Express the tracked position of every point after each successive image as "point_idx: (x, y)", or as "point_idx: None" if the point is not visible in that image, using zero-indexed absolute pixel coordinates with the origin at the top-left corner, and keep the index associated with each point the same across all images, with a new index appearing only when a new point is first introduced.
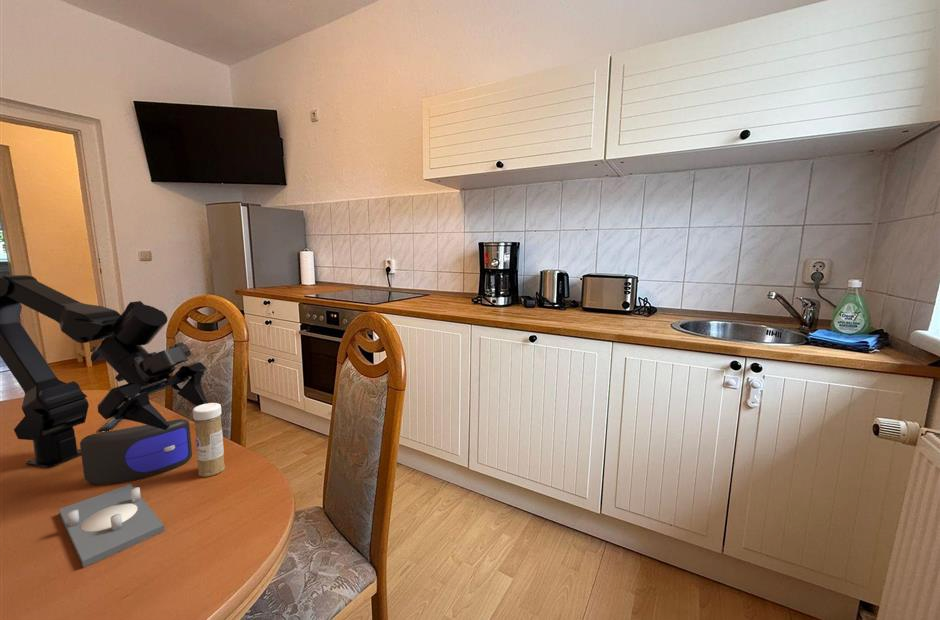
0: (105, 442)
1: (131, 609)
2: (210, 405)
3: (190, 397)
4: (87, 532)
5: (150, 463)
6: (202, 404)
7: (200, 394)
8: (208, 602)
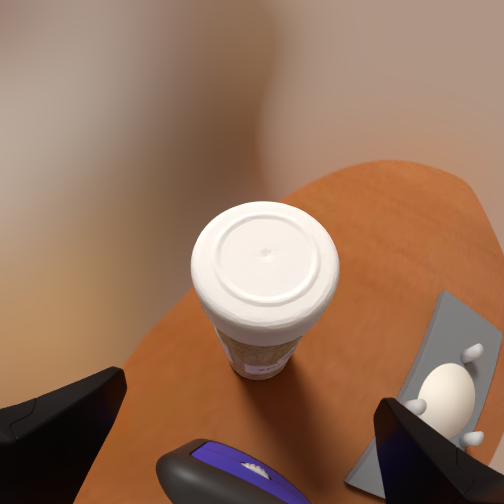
0: None
1: (496, 239)
2: (243, 248)
3: (71, 473)
4: (476, 392)
5: (295, 490)
6: (226, 306)
7: (62, 405)
8: (466, 187)
